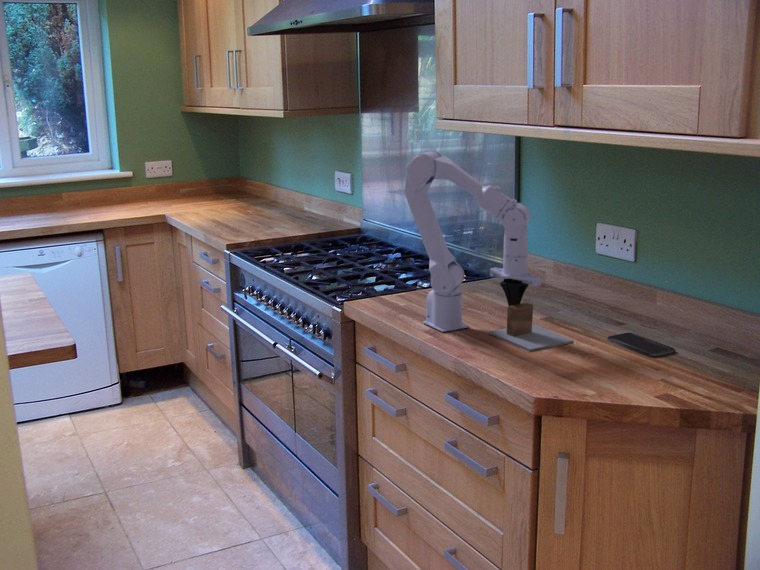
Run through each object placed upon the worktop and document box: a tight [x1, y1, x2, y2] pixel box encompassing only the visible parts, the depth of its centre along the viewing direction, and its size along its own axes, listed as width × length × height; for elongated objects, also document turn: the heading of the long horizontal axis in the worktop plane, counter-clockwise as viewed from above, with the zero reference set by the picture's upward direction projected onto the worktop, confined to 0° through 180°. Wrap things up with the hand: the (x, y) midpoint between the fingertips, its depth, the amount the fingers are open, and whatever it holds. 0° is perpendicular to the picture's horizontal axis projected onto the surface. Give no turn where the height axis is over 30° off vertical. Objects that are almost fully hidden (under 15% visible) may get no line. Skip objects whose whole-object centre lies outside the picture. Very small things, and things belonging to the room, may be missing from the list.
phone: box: [606, 332, 676, 359], centre depth 191 cm, size 8×1×15 cm
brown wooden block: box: [506, 301, 534, 337], centre depth 200 cm, size 3×6×7 cm, turn 125°
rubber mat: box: [487, 323, 574, 352], centre depth 198 cm, size 16×13×1 cm
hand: (514, 309), depth 201 cm, fingers closed
